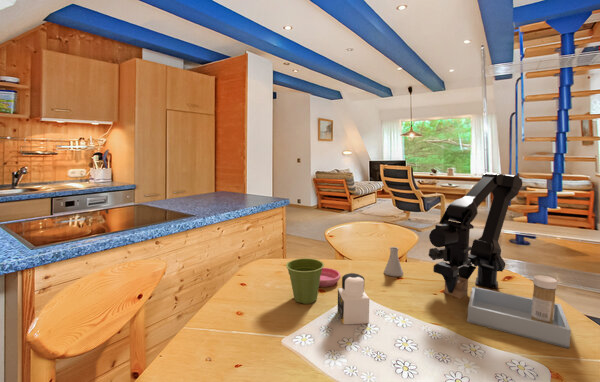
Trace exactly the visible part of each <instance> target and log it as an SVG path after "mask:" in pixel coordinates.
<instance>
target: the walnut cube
mask: <svg viewBox="0 0 600 382" xmlns="http://www.w3.org/2000/svg"><path fill="white" fill-rule="evenodd" d="M468 286H469V279H465V278H461V277H459V280H458V282H457V284H456V286H455V289H454V291H453V293H449V292H448V289H447V286H446V282H445V281H444V294H446V295H449V296H452V297H454V298H457V299H463V297H465V296H467V295H468V290H469V287H468Z"/></svg>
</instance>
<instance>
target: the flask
mask: <svg viewBox="0 0 600 382" xmlns="http://www.w3.org/2000/svg"><path fill="white" fill-rule="evenodd" d="M389 250H390V254H389V257H388V260H387V264H386V266H385V268H384V270H383V273H384V274H385V275H386V276H390V277H395V278H396V277H402V276H403V275H404V271H403V268H402V265H401V263H400V262H401V261H400V260H399V259H400V258H399V253H398V252H399V247H397V246H391V247H389Z"/></svg>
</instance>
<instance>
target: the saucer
mask: <svg viewBox="0 0 600 382" xmlns="http://www.w3.org/2000/svg"><path fill="white" fill-rule="evenodd" d="M340 279H341V273H340V272H339V270H337V269H333V268H330V267H323V268H322V272H321V275H320V282H319V287H322V288H323V287H324V288H326V287H332V286H334V285H335V284H337V282H338V281H339V280H340Z"/></svg>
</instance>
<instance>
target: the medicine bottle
mask: <svg viewBox="0 0 600 382" xmlns="http://www.w3.org/2000/svg"><path fill="white" fill-rule="evenodd" d="M337 313H338V316H339V318H340V320H341V323H342V325H360V324H361V325H364V324H369V323H370V297H369V296H368V294H367V293H366V291H365V276H363V275H361V274H358V273H353V272H350V273H346V274H344V275H343V276H342V277H341V287H339V288H337Z"/></svg>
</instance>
